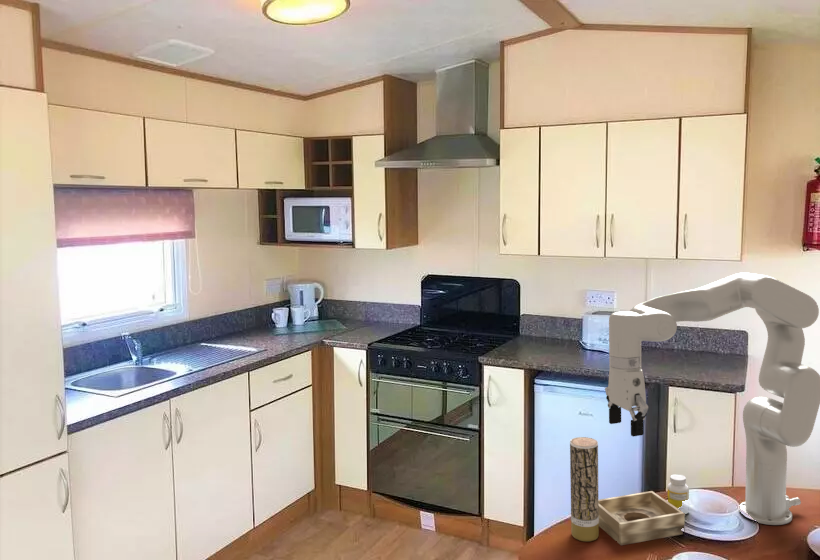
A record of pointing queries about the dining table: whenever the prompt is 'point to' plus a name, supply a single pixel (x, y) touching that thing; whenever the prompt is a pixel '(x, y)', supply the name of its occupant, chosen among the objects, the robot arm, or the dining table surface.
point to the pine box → (639, 518)
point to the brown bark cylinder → (584, 488)
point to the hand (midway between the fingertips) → (625, 429)
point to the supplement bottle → (677, 490)
